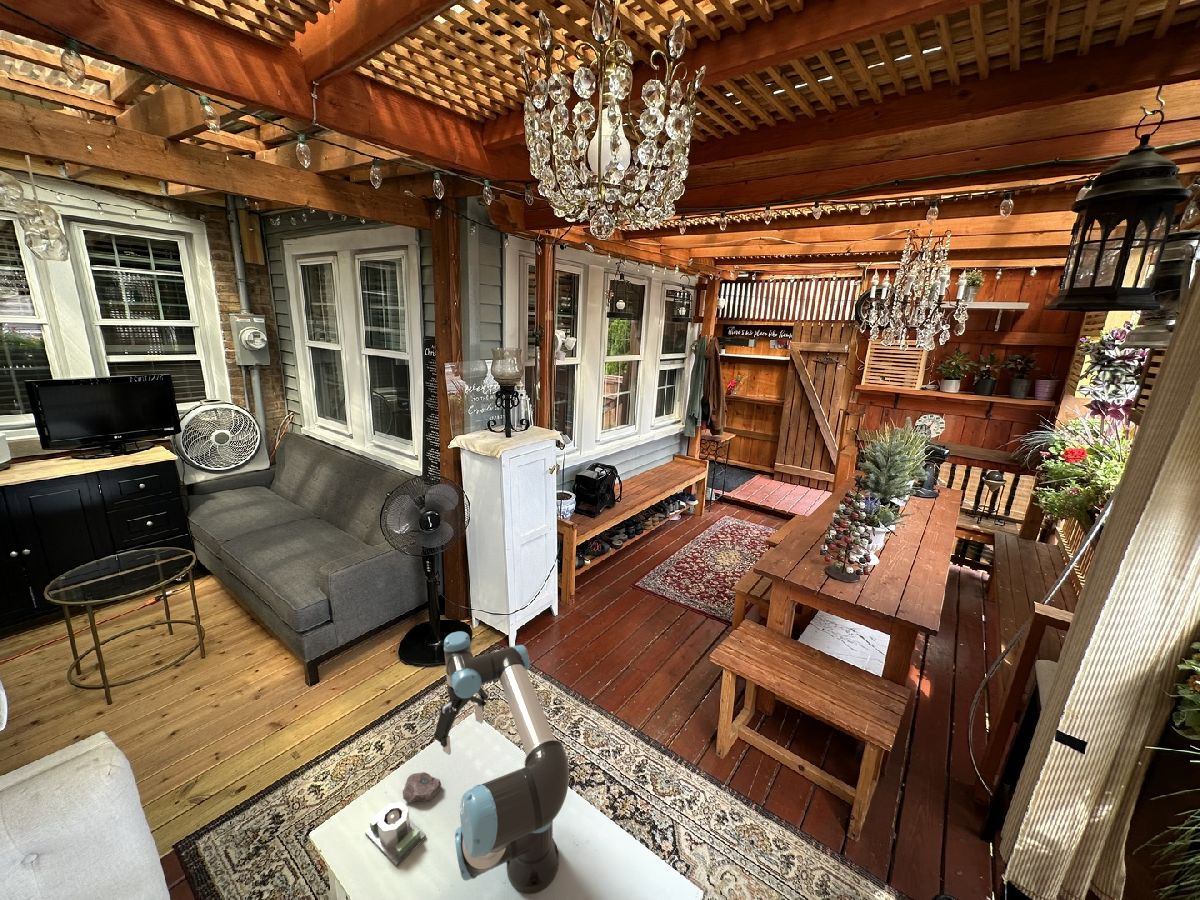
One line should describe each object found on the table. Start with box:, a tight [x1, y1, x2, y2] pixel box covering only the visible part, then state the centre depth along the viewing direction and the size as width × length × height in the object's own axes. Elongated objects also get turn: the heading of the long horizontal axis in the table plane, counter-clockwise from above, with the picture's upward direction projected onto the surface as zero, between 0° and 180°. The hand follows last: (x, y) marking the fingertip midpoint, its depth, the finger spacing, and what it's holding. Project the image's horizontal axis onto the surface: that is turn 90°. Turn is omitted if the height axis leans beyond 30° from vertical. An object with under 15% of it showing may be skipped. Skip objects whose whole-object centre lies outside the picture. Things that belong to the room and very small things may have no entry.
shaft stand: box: [364, 802, 427, 868], centre depth 143 cm, size 16×10×8 cm, turn 56°
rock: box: [402, 771, 442, 804], centre depth 157 cm, size 8×11×5 cm
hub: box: [378, 802, 411, 848], centre depth 143 cm, size 8×8×7 cm
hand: (463, 736), depth 149 cm, fingers open, 13 cm apart
